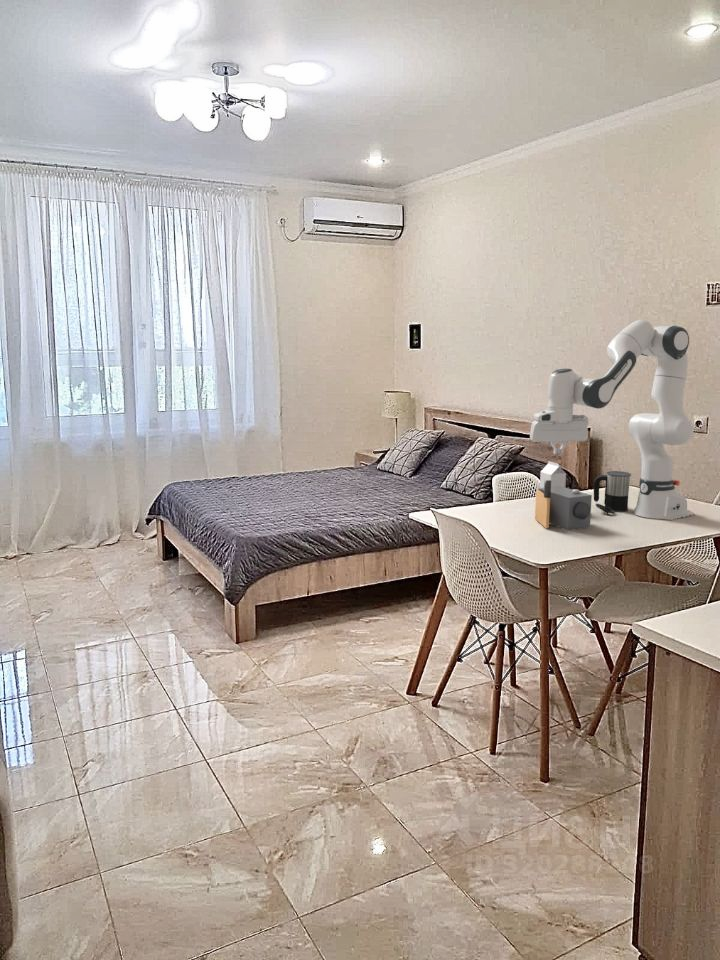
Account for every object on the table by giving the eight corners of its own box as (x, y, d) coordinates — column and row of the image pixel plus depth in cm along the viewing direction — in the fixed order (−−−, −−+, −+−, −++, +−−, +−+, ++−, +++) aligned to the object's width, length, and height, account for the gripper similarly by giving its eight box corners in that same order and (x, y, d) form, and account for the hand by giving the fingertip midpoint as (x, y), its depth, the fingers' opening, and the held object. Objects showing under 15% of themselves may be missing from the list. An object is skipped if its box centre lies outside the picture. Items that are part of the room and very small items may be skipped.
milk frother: (625, 506, 308) (627, 470, 306) (635, 516, 293) (637, 478, 290) (589, 506, 310) (591, 470, 307) (597, 515, 295) (599, 477, 292)
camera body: (558, 516, 293) (560, 482, 290) (593, 528, 275) (595, 493, 272) (537, 519, 289) (538, 485, 286) (571, 531, 271) (573, 495, 268)
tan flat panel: (539, 518, 288) (541, 474, 285) (550, 527, 274) (552, 481, 271) (533, 518, 288) (534, 474, 285) (544, 528, 274) (546, 481, 271)
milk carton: (549, 512, 300) (551, 464, 296) (538, 508, 307) (540, 461, 303) (564, 510, 303) (566, 463, 299) (553, 506, 309) (555, 460, 306)
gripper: (585, 413, 273) (583, 452, 276) (529, 414, 272) (527, 452, 275) (591, 415, 267) (589, 454, 270) (534, 416, 266) (532, 455, 268)
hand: (558, 453), depth 272 cm, fingers closed
